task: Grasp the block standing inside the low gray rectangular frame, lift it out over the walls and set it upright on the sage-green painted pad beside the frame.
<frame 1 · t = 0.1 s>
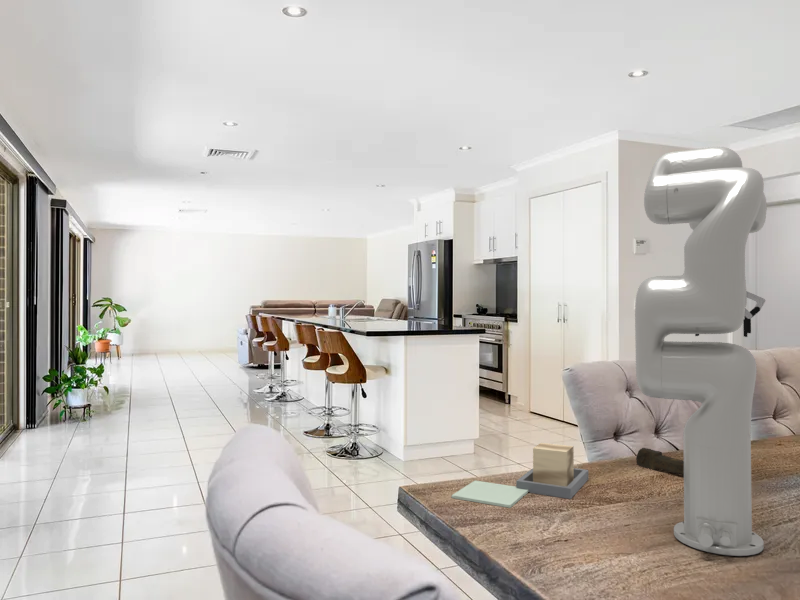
hand: (720, 336, 134), 31 cm above the table, tool pointing down, fingers open, 9 cm apart
pad: (491, 494, 118), on the table
block: (553, 485, 125), resting in gray rectangular frame
gray rectangular frame: (553, 484, 125), on the table
hand tool: (671, 475, 134), on the table
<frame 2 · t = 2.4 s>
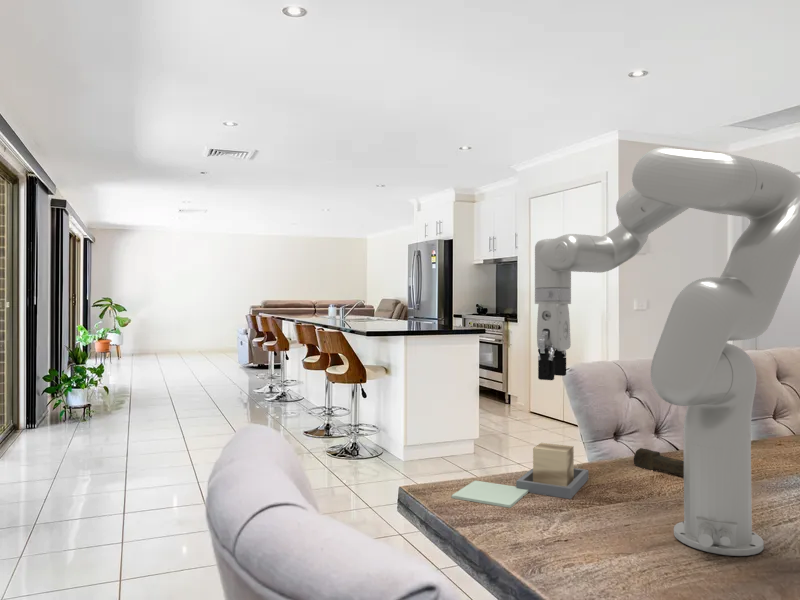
hand: (552, 377, 126), 23 cm above the table, tool pointing down, fingers open, 9 cm apart
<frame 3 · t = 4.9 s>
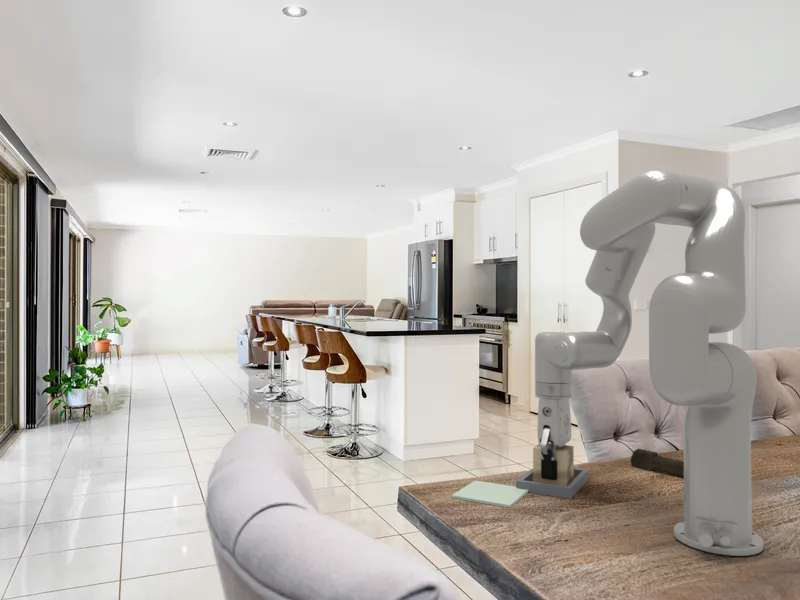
hand: (553, 474, 125), 2 cm above the table, tool pointing down, fingers closed on block, 6 cm apart
block: (553, 484, 125), resting in gray rectangular frame, touching gripper
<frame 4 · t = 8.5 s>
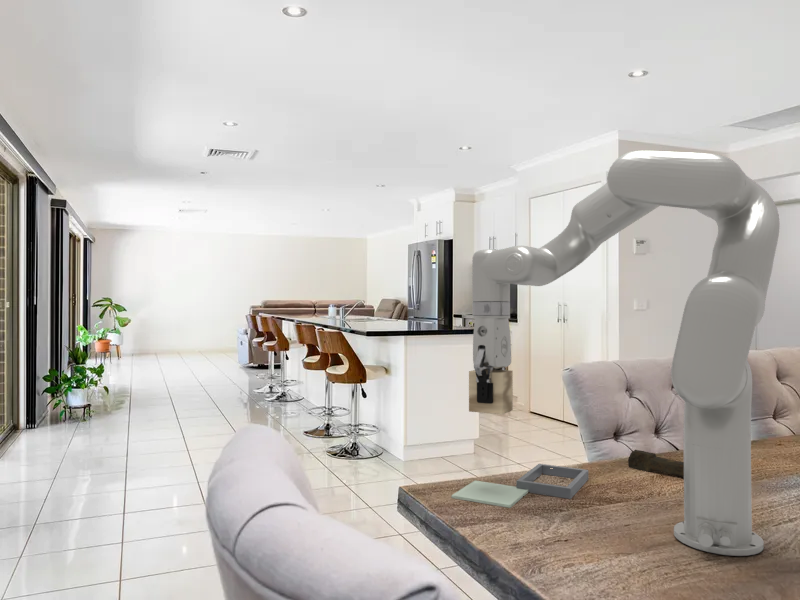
hand: (491, 400, 119), 19 cm above the table, tool pointing down, fingers closed on block, 6 cm apart
block: (490, 410, 119), point 17 cm above the table, touching gripper
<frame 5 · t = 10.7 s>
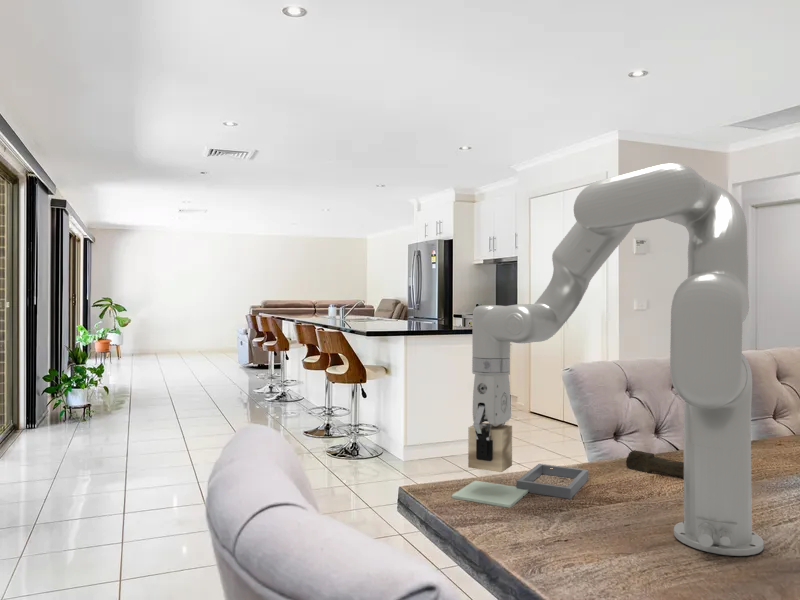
hand: (490, 455, 118), 8 cm above the table, tool pointing down, fingers closed on block, 6 cm apart
block: (490, 466, 118), point 6 cm above the table, touching gripper
when the fingers open (4 cm above the table, at t = 12.4 s): block stays where it is, resting on pad.
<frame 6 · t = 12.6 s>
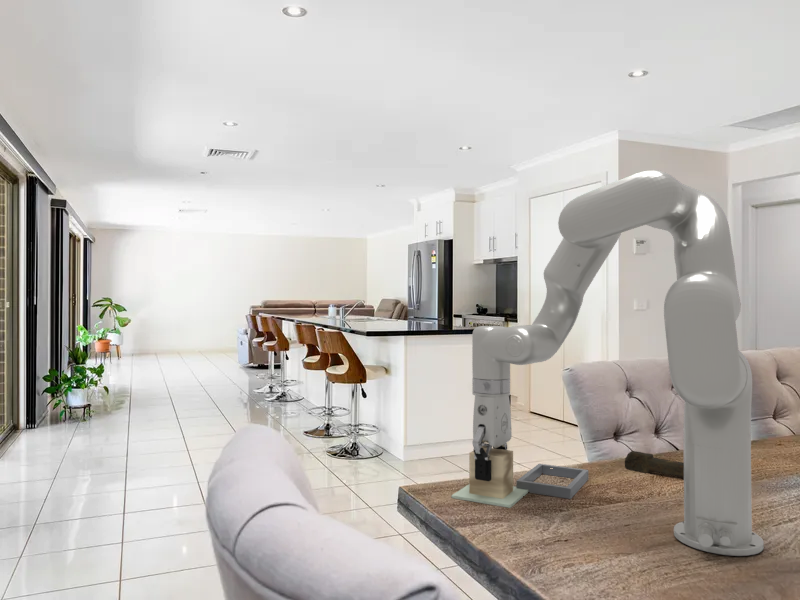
hand: (491, 474, 118), 4 cm above the table, tool pointing down, fingers open, 8 cm apart
block: (491, 492, 118), resting on pad
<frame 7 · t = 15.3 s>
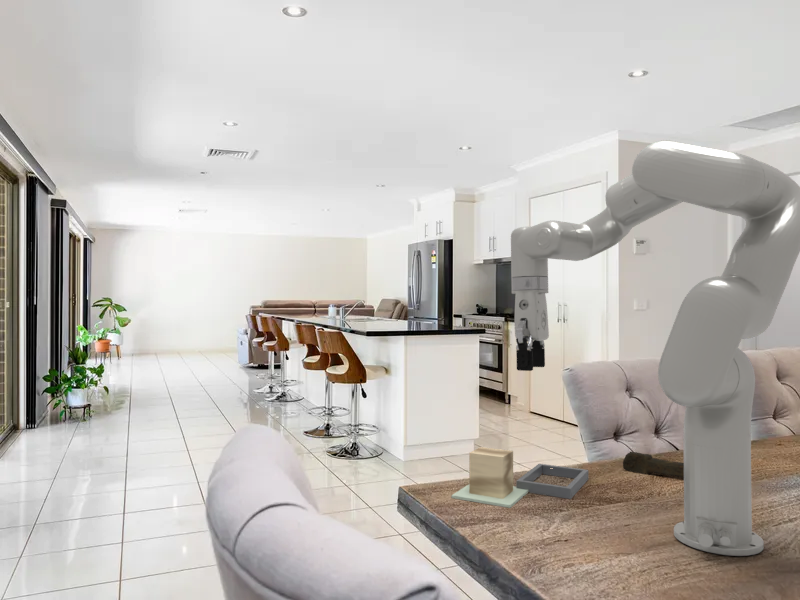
hand: (531, 368, 123), 25 cm above the table, tool pointing down, fingers open, 9 cm apart
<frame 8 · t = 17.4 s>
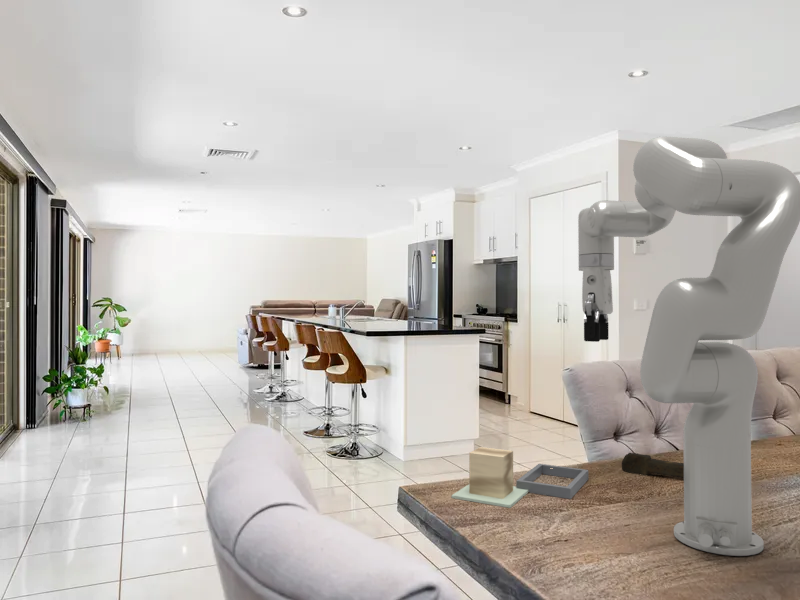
hand: (596, 340, 131), 30 cm above the table, tool pointing down, fingers open, 9 cm apart
at the end: block inside the target area on the pad (0.0 cm from its centre), point 0.5 cm above the pad's base; block tilted 0°; the gripper is holding nothing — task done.
